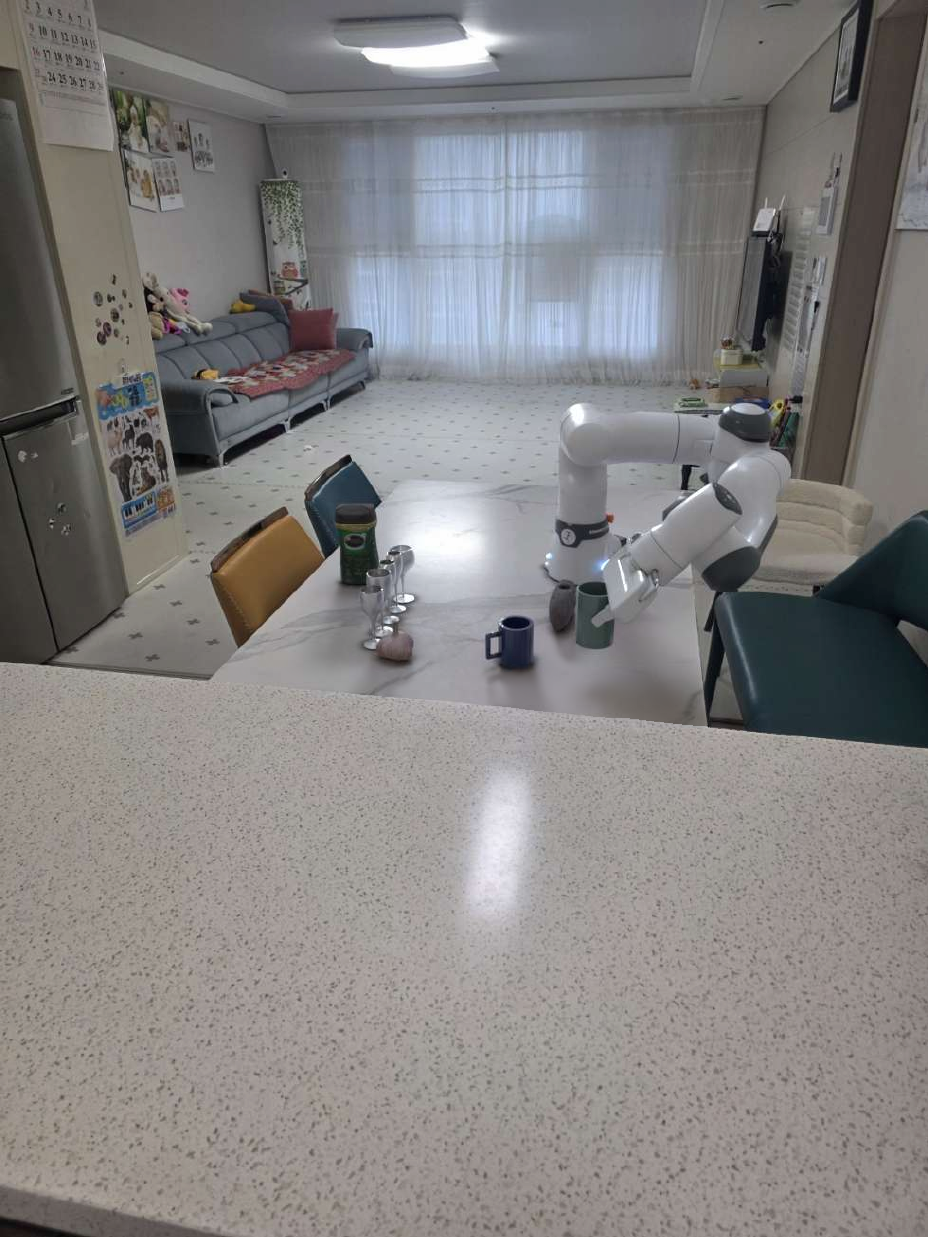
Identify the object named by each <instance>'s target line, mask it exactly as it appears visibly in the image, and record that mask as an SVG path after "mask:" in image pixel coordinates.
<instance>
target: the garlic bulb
mask: <svg viewBox="0 0 928 1237" xmlns="http://www.w3.org/2000/svg"><path fill="white" fill-rule="evenodd" d="M398 623H399V621H397V620H392V624H391V626H392V627H391V628H392V629H393V633H391V634H388V635H385V636H383V637H379V639H380V640H379V641H378V643H377V645H376V649H375V652H376V654H377V655H378V656H379V657H383V658H385V659H390V660H395V661H408V660H410V659H411V658H412V656H413V648H414V638H413V637H412V635H410V634H409V633H407V632H405V631H402V630H399V624H398Z"/></svg>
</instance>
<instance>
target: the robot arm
mask: <svg viewBox="0 0 928 1237" xmlns="http://www.w3.org/2000/svg"><path fill="white" fill-rule="evenodd" d="M774 437H775V433H774V430H773V426H772V417H771V415H770V413H769V412H768V410H767V409H766V408H764V407H762V406H760V405H758V404H754V403H750V402H740V403H733V404H732V403H731V404H730V405H727V406H726V407H724V408H723V410H722V412H721V414H720V416H719V418H718V420H715V419H712V418H708V417H705V416H700V415H694V414H688V413H675V412H673V413H672V412H662V411H661V412H660V411H641V410H639V411H635V412H625V413H623V412H622V413H604V411H603V410H602V409H601V408H600V407H598V406H597V405H595V404H593V403H589V402H579V403H575V404H573V405H572V406H570V407H569V408H567V409H566V411H565V412H564V413H563V414H562V416H561V418H560V420H559V425H558V490H557V491H558V492H557V515H556V516H555V521H554V531H555V533H554V534H553V535H552V536H551V538H550V544H549V545H550V546H549V553H548V554H546V559H548V560H547V561H545V562H544V568H545V569H546V570H547V571H548V575H549V577H550V578H552V579H553V580H555V581H557V582H560V581H561V580H563V579H567V580H570V581H573V583H574V585H575V586H576V585H577V586H578V585H579V584H581V583H584V582H588V581H602V582H605V584H606V590H607V595H608V600H609V604H608V605H607V606H606V607H605V609H604V610H602V611H601V612H596V613H595V614H594V615H593V616H592V617H591V622H592V623H593V624H594V625H595V626H596V627H600V626H601V625H602V624H603V623H604V622H607V621H609V620H612V619H614V618H615V619H616V620H617V621H619V622H620V623H621V624H622V625H627V624H629V623H631V622H633V620H635V619H636V618H637V617H638V616H639V615H641V613H643V612H644V611H645V610H646V609H647V608H648V607H649V606H650V605H651V604H652V603H653V601H654V600H655V599H656V597H657V596H658V588H659V587H662V588H664V587H666V585H668V584H669V583H670V582H672V580H674V579H675V578H676V577H677V576H679V575H680V574H681V573H682V572H683V571H685V570H686V569H687V568H688V567H689V566H690V565H691V566H692V567H693V568H694V569H695V571H696V572H697V573H698V574H699V575H700V577H701V578H702V580H703V581H704V582H705V584H706V586H707V587H708V588H709V590H711V591H714V592H718V593H725V594H728V593H729V594H731V593H734V592H735V591H738V590H739V589H741V588H743V587H744V586H746V585H747V584H748V583H749V582H750V581H751V580H752V579H753V578H754V576H755V575H756V573H757V572H758V570H759V568H760V566H761V561H762V557H763V555H764V553H765V551H766V549H767V547H768V545H769V544H770V541H771V540H772V537H773V536H774V534H775V531H776V529H777V527H778V523H779V517H778V513H777V500H778V499H779V498H780V497H781V496H782V495H783V493H784V492H785V490H786V488H787V487H788V485H789V484H790V480H791V477H792V466H791V464H790V462H789V460H788V458H787V457H786V456H785V455H784V454H782V453H781V452H780V451H777V450H775V449H772V448H770V441H771V440H772V438H774ZM631 463H632V464H633V463H636V464H637V463H641V464H655V465H656V464H657V465H658V464H659V465H677V466H678V465H679V466H684V465H685V466H686V465H689V466H690V465H691V466H692V465H693V466H697V467H700V468H702V469H703V470H704V471H705V473H702V474H701V475H700V476H699V477H698V478H699V481H700V482H701V483H702V484H703V487H701V488H699V489H697V491H695V492H684V493H682V494H681V495H680V496H679V497H678V498H677V499H676V500H675V501H673V502H672V503H671V504H670V505H669V506H667V507H666V508H665V509H664V510H662V514H661V522H660V523H658V524H657V525H655V526H653V527H651V528H650V529H649V530H647V531H646V532H640V531H636V532H634V533H633V534H632V535H631V536H630V537H629V538H628V539H627V537H625V536H622V535H618V534H615V533H612V532H611V531H610V524H613V523H614V520H615V514H612V513H607V500H608V486H609V485H608V465H620V464H631Z"/></svg>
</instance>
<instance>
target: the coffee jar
mask: <svg viewBox="0 0 928 1237" xmlns="http://www.w3.org/2000/svg"><path fill="white" fill-rule="evenodd" d="M335 508H336V509H335V512H334V526H335V528H336V530H337V534H338V539H339V540H338V541H339V578H340V581H341V582H342V583H343V584H348V585H364V584H365V585H367V583H366V579H367V573H368V572H369V571H371V570H374V569H378V566H379V561H380V557H379V551H378V546H377V539H376V527H377V524H378V516H377V512H376V507H375V505H374V503H371V502H370V503H339V504H338V505H337V506H336V507H335Z"/></svg>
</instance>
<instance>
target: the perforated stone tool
mask: <svg viewBox="0 0 928 1237" xmlns="http://www.w3.org/2000/svg"><path fill="white" fill-rule="evenodd" d="M576 589H577V587H576V584H574V583H573V581H570V580H567V579H563V580H561V581H558V583H557V584H556V586H555V587H554V589H553V591H552V594H551V596H550V599H549V604H548V615H549V616H548V617H549V622H550V625H551V626H552V628H553V629H554V630H555V631H561V630H562V629H564V628H565V627H566V626H567V625H569V622H570V620H571V619H572V617H573V614H574V611H575V610H576Z"/></svg>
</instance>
